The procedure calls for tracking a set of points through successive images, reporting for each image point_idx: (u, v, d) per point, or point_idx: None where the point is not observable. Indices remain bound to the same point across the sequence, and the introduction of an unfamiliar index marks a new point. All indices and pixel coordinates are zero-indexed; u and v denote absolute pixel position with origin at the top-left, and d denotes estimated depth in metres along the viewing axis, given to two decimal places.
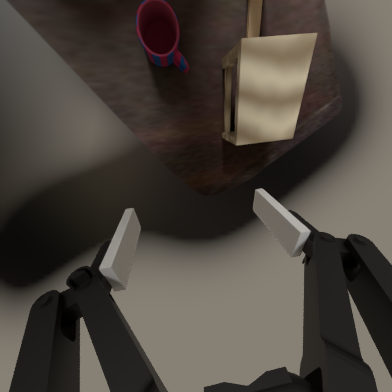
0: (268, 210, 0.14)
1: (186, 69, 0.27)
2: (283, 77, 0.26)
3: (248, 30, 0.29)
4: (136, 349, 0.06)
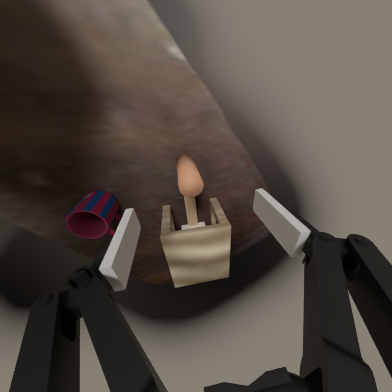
0: (268, 210, 0.14)
1: None
2: (207, 250, 0.29)
3: None
4: (136, 349, 0.06)
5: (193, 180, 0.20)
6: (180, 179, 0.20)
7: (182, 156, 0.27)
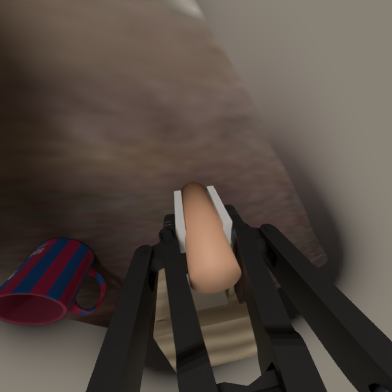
0: None
1: None
2: (230, 338, 0.18)
3: None
4: (195, 312, 0.07)
5: (221, 269, 0.09)
6: (192, 265, 0.09)
7: (191, 190, 0.16)
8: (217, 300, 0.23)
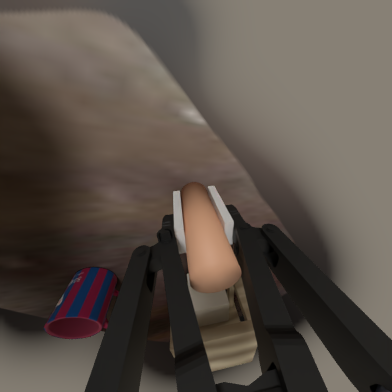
0: (213, 205, 0.15)
1: None
2: (229, 349, 0.22)
3: None
4: (194, 312, 0.07)
5: (221, 269, 0.09)
6: (192, 265, 0.09)
7: (191, 190, 0.16)
8: (217, 300, 0.23)
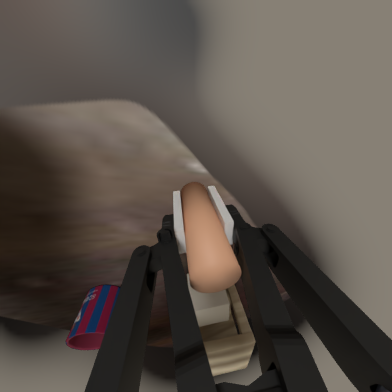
0: (213, 205, 0.15)
1: None
2: (226, 358, 0.25)
3: None
4: (194, 312, 0.07)
5: (221, 269, 0.09)
6: (193, 265, 0.09)
7: (191, 190, 0.16)
8: (218, 300, 0.23)
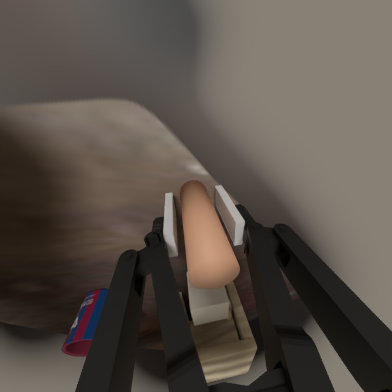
0: (222, 205, 0.15)
1: None
2: (227, 364, 0.25)
3: None
4: (185, 315, 0.07)
5: (220, 265, 0.09)
6: (191, 261, 0.09)
7: (190, 188, 0.16)
8: (217, 298, 0.23)
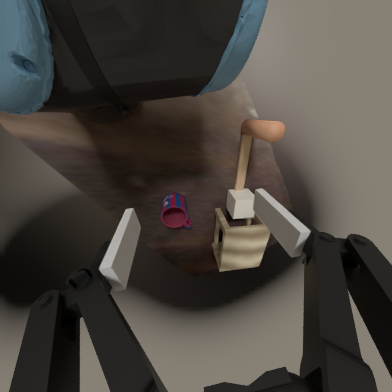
0: (268, 210, 0.14)
1: None
2: (251, 243, 0.40)
3: (240, 153, 0.37)
4: (136, 349, 0.06)
5: (279, 127, 0.25)
6: (268, 125, 0.26)
7: None
8: (250, 197, 0.39)
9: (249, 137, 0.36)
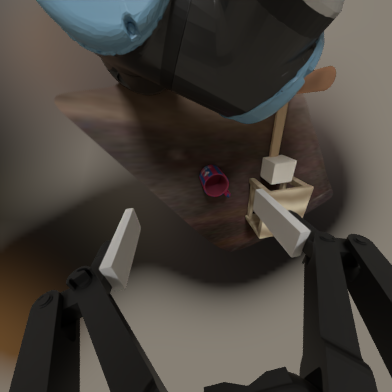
0: (268, 210, 0.14)
1: None
2: (292, 206, 0.41)
3: (277, 115, 0.37)
4: (136, 349, 0.06)
5: (330, 72, 0.25)
6: (318, 72, 0.25)
7: None
8: (289, 160, 0.39)
9: None
